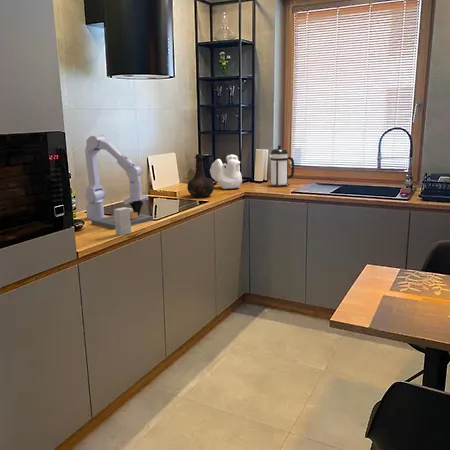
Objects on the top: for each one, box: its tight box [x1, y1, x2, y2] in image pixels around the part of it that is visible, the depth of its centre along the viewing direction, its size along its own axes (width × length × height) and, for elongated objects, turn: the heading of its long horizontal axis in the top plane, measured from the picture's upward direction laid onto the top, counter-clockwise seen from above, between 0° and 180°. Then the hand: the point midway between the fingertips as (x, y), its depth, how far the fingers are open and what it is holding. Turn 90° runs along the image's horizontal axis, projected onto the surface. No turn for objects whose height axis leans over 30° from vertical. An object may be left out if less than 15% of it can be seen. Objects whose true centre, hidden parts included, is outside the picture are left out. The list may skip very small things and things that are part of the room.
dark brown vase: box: [186, 153, 215, 198], centre depth 304 cm, size 18×18×28 cm
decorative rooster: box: [209, 154, 243, 190], centre depth 336 cm, size 25×16×25 cm, turn 48°
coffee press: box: [269, 144, 295, 188], centre depth 340 cm, size 17×16×30 cm
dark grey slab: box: [90, 213, 154, 230], centre depth 238 cm, size 20×24×2 cm
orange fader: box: [130, 211, 138, 219], centre depth 236 cm, size 4×4×3 cm
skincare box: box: [113, 206, 132, 237], centre depth 213 cm, size 6×4×12 cm
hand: (137, 215), depth 239 cm, fingers closed
